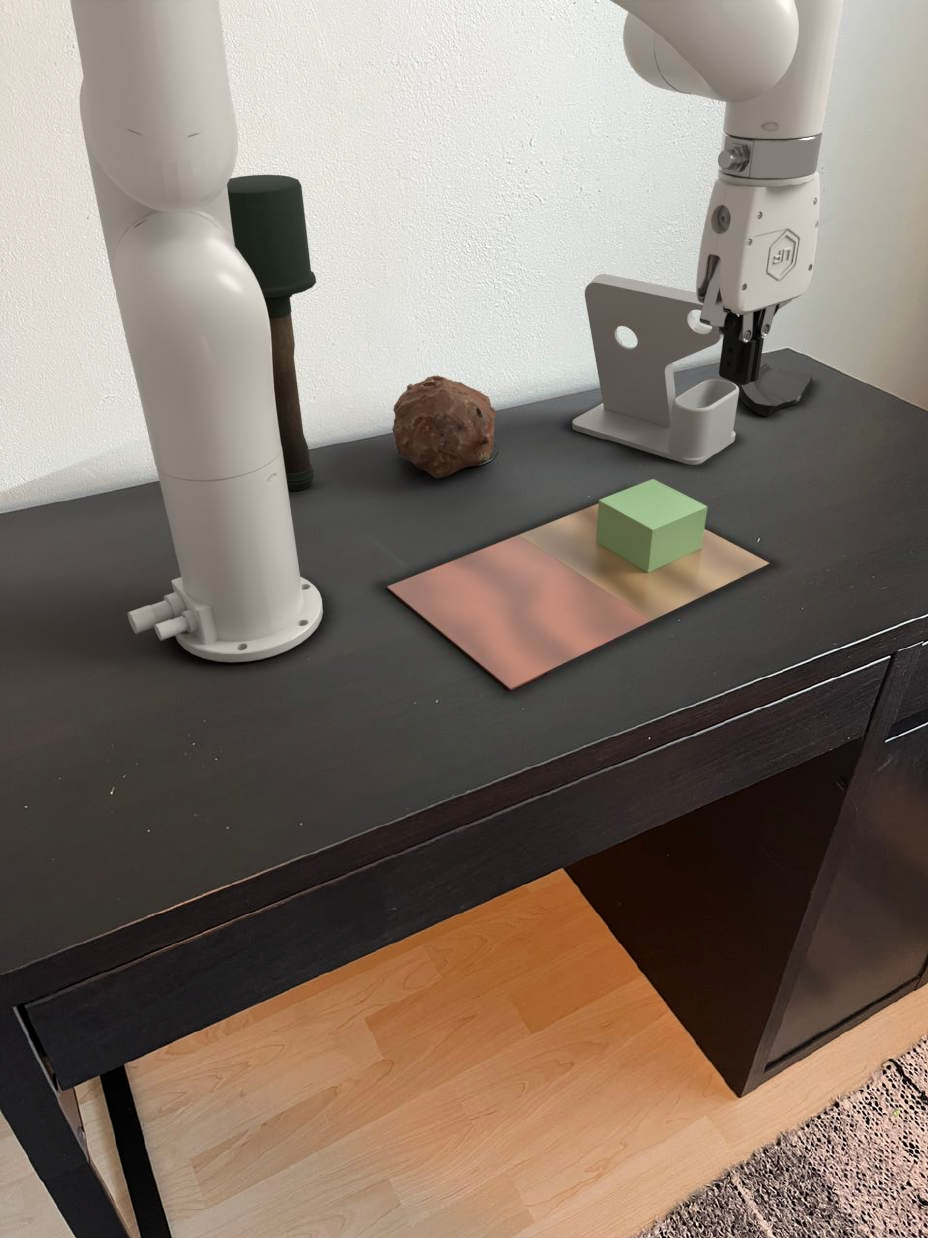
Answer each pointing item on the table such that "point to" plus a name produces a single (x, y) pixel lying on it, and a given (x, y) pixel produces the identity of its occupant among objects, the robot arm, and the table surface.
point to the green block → (650, 524)
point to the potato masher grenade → (277, 291)
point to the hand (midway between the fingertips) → (737, 378)
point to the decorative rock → (443, 426)
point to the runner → (558, 595)
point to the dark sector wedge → (774, 390)
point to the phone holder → (654, 373)
